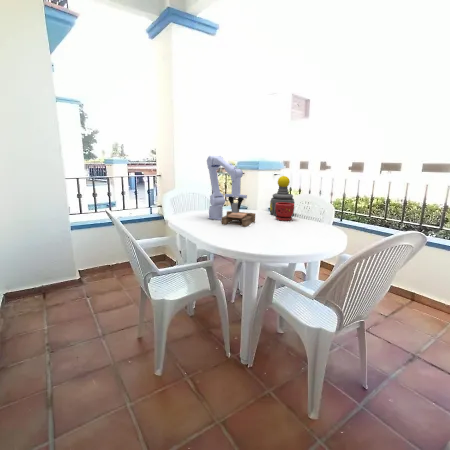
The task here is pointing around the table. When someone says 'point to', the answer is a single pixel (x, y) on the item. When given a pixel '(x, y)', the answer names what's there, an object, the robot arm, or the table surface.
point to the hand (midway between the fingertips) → (235, 208)
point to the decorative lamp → (281, 195)
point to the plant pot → (284, 211)
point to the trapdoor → (237, 215)
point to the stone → (235, 208)
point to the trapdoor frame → (239, 219)
